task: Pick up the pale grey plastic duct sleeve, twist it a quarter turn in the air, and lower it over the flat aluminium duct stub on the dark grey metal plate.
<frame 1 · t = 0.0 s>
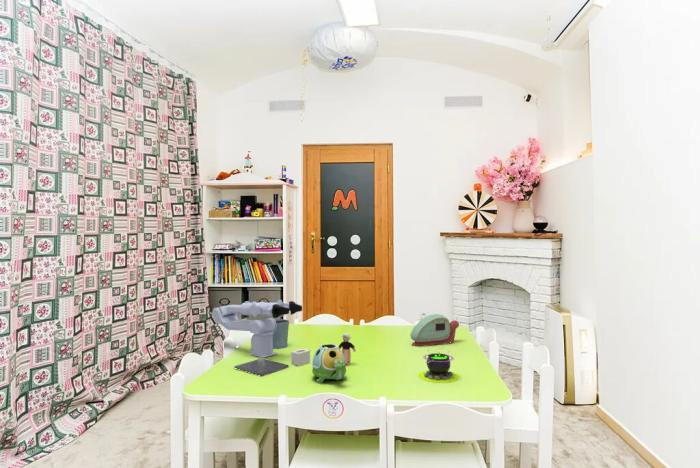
hand: (295, 309, 191), 22 cm above the table, tool horizontal, fingers open, 7 cm apart
toy cauldron: (438, 377, 171), on the table
duct plate: (261, 368, 183), on the table
duct sleeve: (300, 363, 189), on the table
turtle holder: (331, 379, 168), on the table
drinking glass: (278, 346, 217), on the table
toy snail: (435, 343, 220), on the table
grandmother figurine: (346, 364, 187), on the table
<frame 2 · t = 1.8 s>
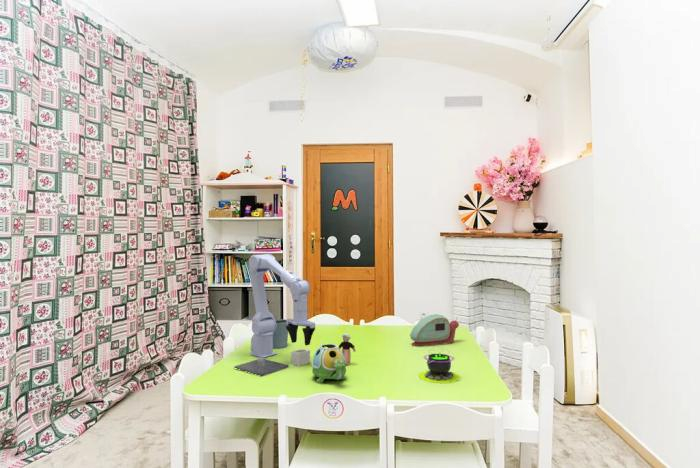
hand: (300, 343, 189), 8 cm above the table, tool pointing down, fingers open, 7 cm apart
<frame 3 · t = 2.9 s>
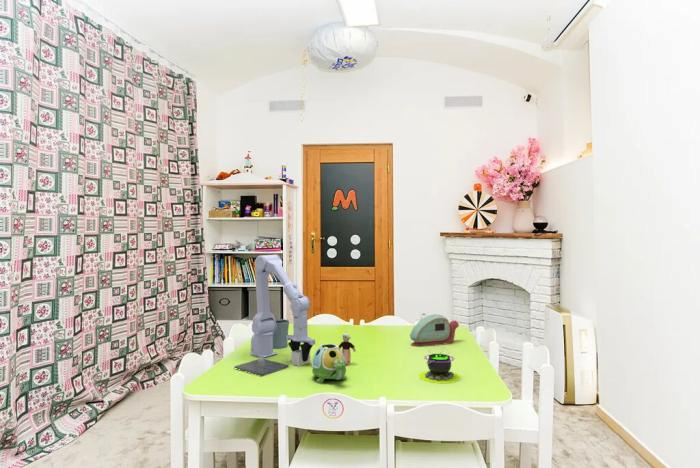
hand: (300, 359, 189), 1 cm above the table, tool pointing down, fingers closed on duct sleeve, 4 cm apart
duct sleeve: (300, 363, 189), on the table, touching gripper
everything else where it was.
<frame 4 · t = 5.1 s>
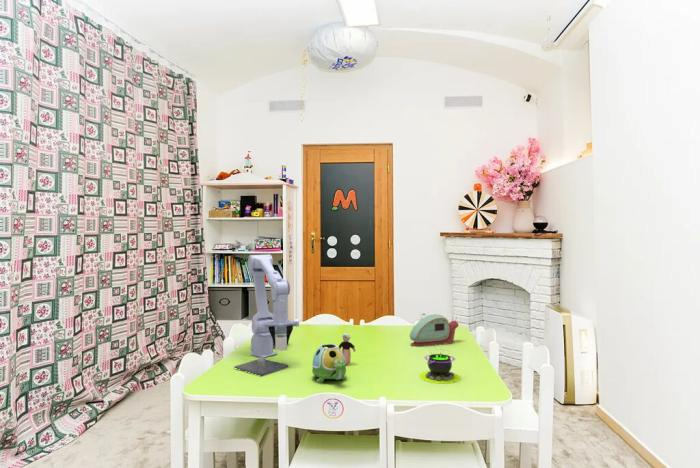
hand: (280, 344, 186), 8 cm above the table, tool pointing down, fingers closed on duct sleeve, 4 cm apart
duct sleeve: (281, 348, 186), point 7 cm above the table, touching gripper
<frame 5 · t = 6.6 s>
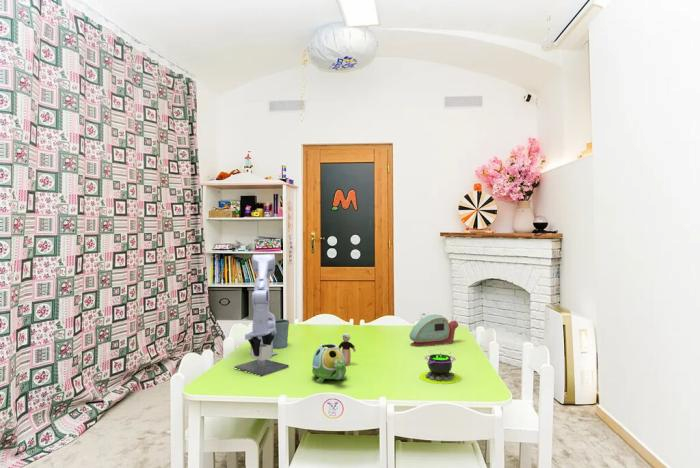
hand: (261, 354, 183), 5 cm above the table, tool pointing down, fingers closed on duct sleeve, 4 cm apart
duct sleeve: (261, 358, 183), point 4 cm above the table, touching gripper
when the fingers open (3 cm above the table, at t = 7.5 s): duct sleeve stays where it is, resting on duct plate.
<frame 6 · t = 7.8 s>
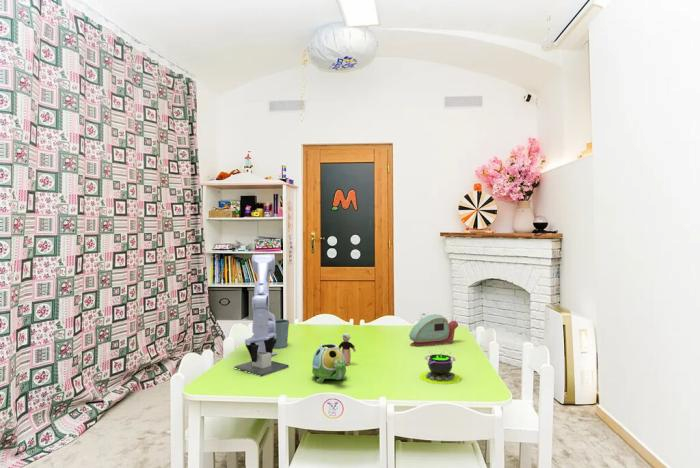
hand: (261, 359, 183), 3 cm above the table, tool pointing down, fingers open, 7 cm apart
duct sleeve: (261, 365, 183), point 1 cm above the table, touching duct plate
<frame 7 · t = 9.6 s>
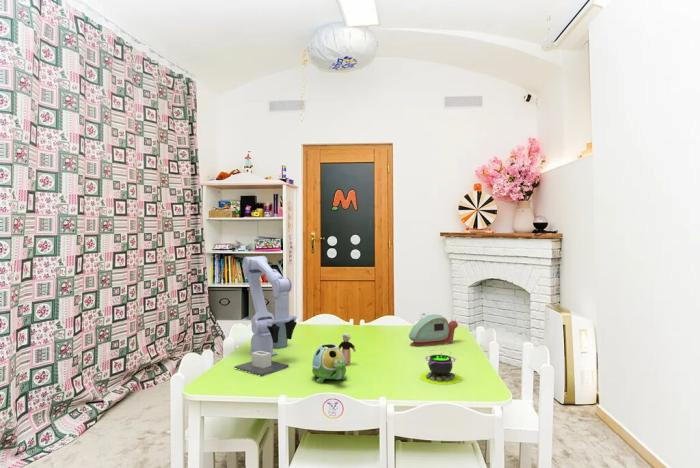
hand: (282, 340, 190), 9 cm above the table, tool pointing down, fingers open, 7 cm apart
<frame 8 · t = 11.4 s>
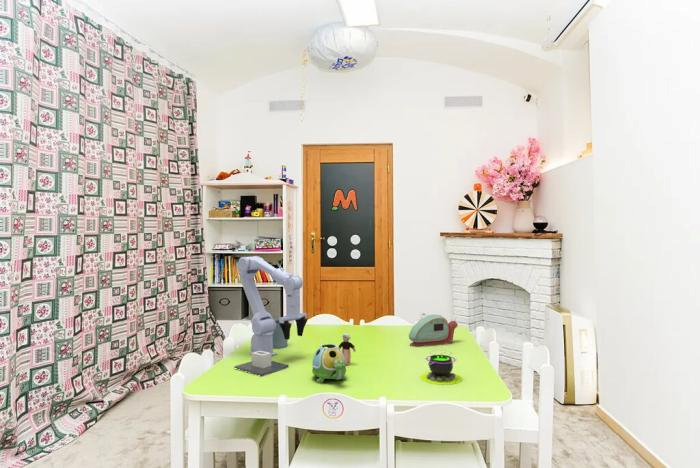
hand: (293, 337, 194), 9 cm above the table, tool pointing down, fingers open, 7 cm apart
at the end: duct sleeve 0.0 cm off-centre on the duct plate, point 1.0 cm above the duct plate's base; duct sleeve tilted 0°; the gripper is holding nothing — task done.
